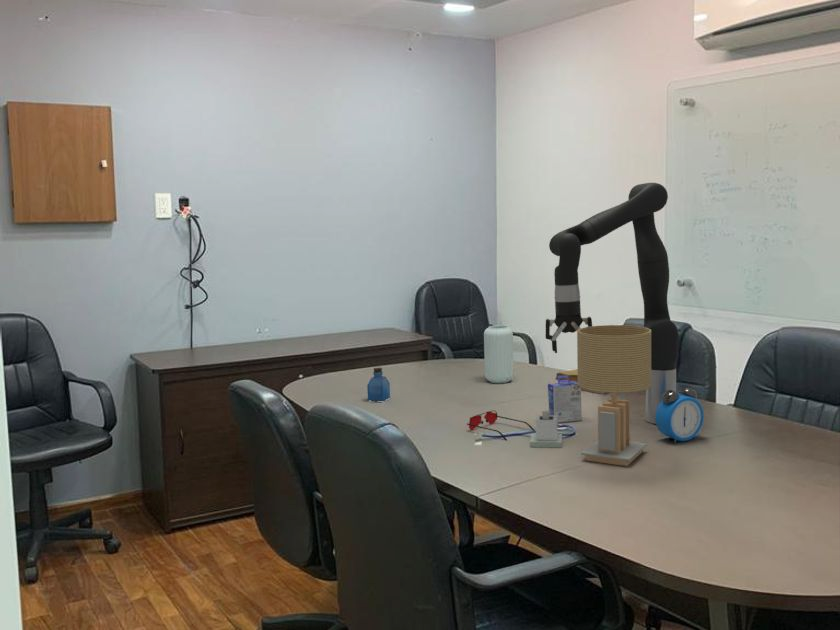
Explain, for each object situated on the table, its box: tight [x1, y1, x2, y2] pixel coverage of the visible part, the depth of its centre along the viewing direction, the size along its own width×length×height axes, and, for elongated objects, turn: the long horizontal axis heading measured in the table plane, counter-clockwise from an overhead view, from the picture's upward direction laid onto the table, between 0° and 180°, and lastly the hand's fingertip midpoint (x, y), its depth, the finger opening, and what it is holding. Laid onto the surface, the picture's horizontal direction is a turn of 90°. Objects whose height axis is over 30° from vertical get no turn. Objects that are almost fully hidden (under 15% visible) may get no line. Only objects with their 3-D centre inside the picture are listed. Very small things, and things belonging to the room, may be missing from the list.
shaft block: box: [529, 410, 563, 449], centre depth 235 cm, size 9×9×10 cm
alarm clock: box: [655, 387, 705, 443], centre depth 233 cm, size 13×6×15 cm, turn 113°
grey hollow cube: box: [535, 414, 558, 441], centre depth 235 cm, size 6×6×6 cm
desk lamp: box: [576, 324, 651, 467], centre depth 218 cm, size 20×20×35 cm
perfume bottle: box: [367, 367, 391, 402], centre depth 296 cm, size 6×6×12 cm
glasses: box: [466, 410, 536, 441], centre depth 250 cm, size 14×16×5 cm
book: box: [554, 368, 612, 396], centre depth 306 cm, size 25×17×6 cm
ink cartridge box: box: [547, 375, 583, 423], centre depth 259 cm, size 10×6×14 cm, turn 102°
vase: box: [483, 324, 514, 384], centre depth 320 cm, size 12×12×22 cm
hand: (569, 351), depth 243 cm, fingers open, 8 cm apart
